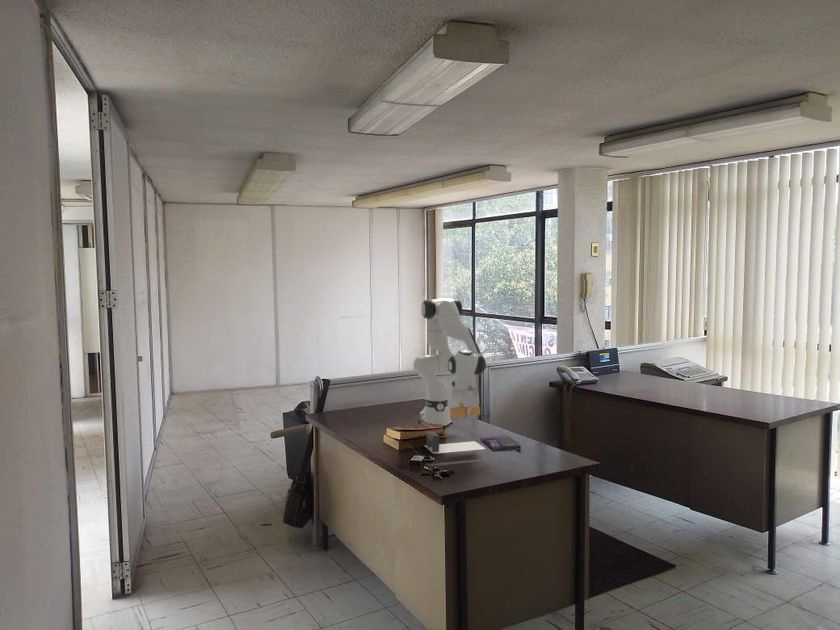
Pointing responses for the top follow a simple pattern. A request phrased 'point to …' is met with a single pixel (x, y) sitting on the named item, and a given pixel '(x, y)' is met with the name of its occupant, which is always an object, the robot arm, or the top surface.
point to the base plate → (457, 447)
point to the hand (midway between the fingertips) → (465, 413)
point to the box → (500, 443)
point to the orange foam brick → (463, 411)
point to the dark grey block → (433, 440)
